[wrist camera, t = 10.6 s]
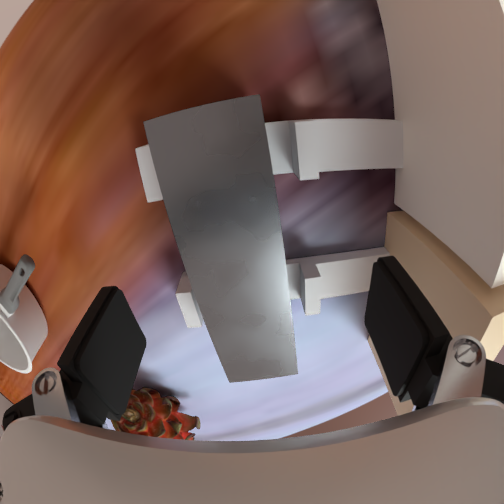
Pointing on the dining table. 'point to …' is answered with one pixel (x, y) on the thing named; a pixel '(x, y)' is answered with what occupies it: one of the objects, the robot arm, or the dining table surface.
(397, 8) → the white rack
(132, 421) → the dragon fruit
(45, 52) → the dining table surface
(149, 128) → the grey metal block
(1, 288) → the saucepan
